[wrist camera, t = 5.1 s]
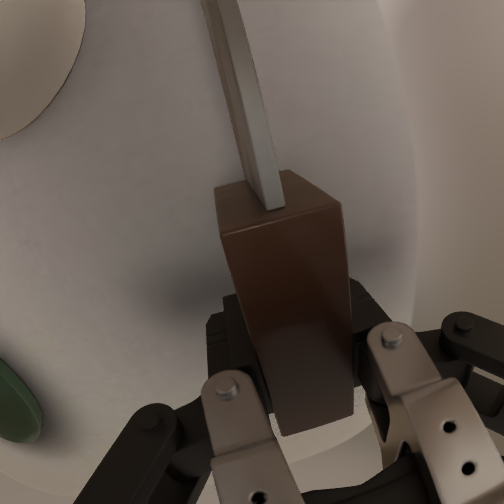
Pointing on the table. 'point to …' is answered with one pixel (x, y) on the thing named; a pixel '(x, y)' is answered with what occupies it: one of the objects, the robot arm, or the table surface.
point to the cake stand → (17, 409)
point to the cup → (35, 56)
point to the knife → (282, 253)
